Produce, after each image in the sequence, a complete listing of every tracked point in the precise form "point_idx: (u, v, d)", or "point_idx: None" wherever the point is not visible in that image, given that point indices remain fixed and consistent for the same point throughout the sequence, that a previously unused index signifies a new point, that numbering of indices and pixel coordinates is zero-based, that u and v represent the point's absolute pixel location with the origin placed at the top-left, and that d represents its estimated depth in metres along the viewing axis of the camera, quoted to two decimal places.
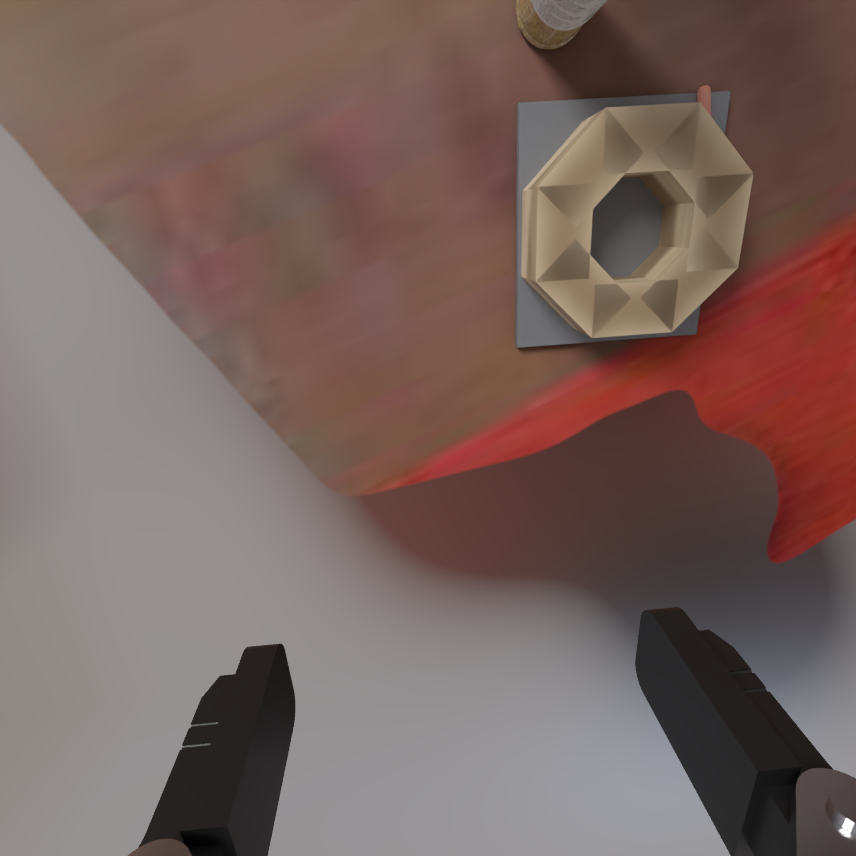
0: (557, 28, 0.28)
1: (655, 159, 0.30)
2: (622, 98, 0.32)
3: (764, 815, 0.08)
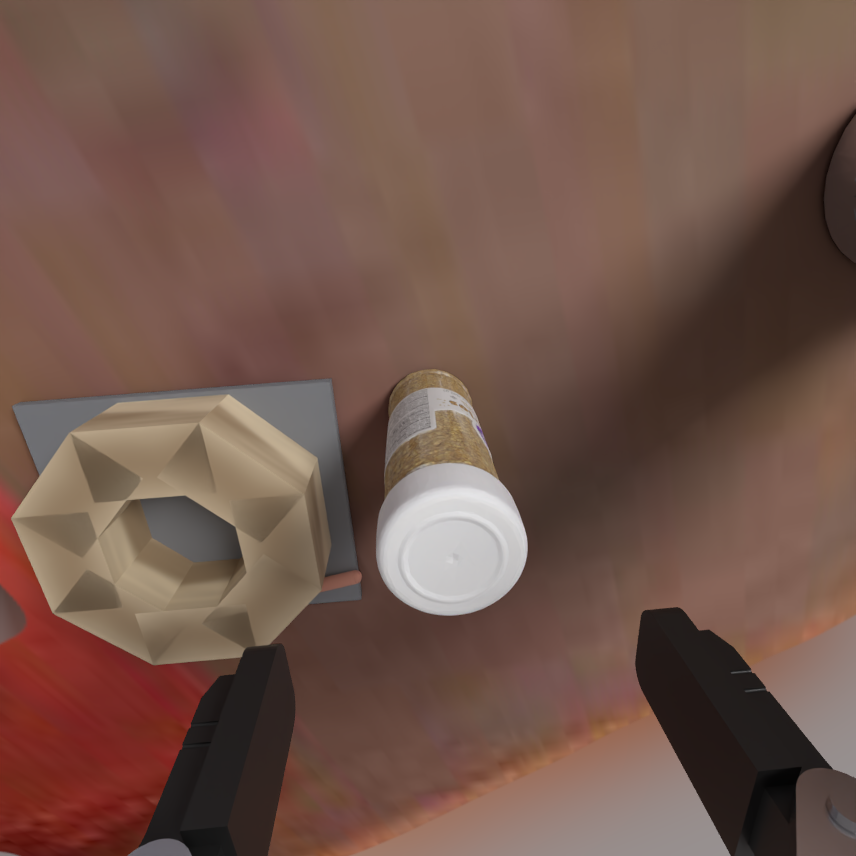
0: (388, 425, 0.23)
1: (256, 556, 0.24)
2: (344, 497, 0.28)
3: (764, 815, 0.08)
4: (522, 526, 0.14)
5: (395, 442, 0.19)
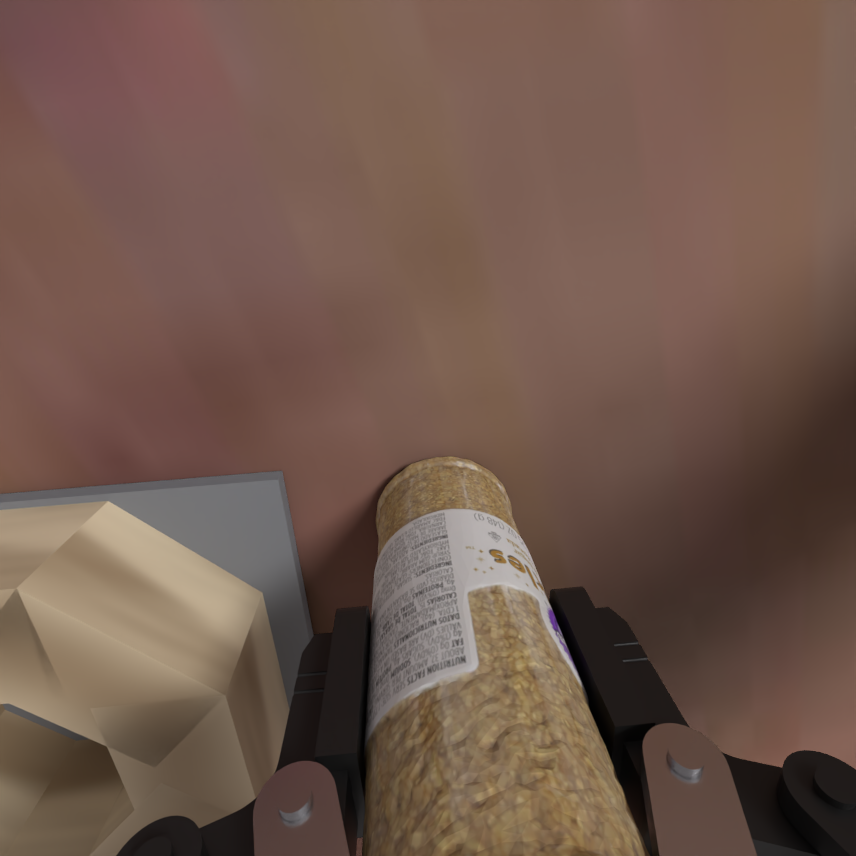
0: (374, 572, 0.13)
1: (148, 786, 0.14)
2: None
3: (624, 767, 0.08)
4: None
5: (387, 674, 0.09)
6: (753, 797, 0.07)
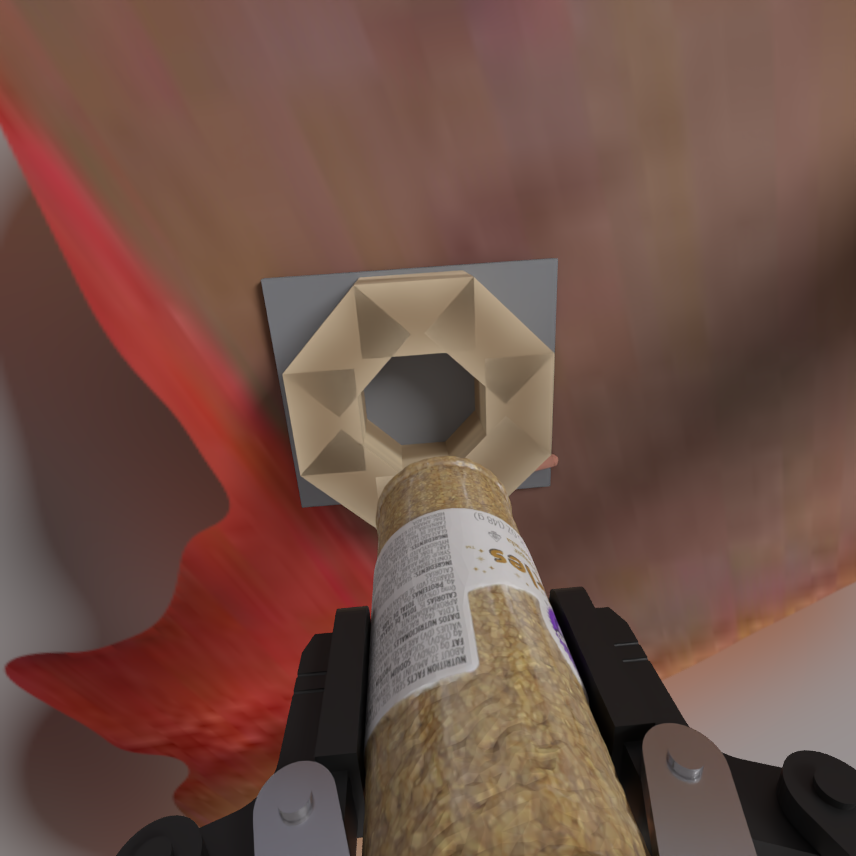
0: (374, 571, 0.13)
1: (498, 418, 0.26)
2: None
3: (624, 767, 0.08)
4: None
5: (387, 674, 0.09)
6: (753, 797, 0.07)
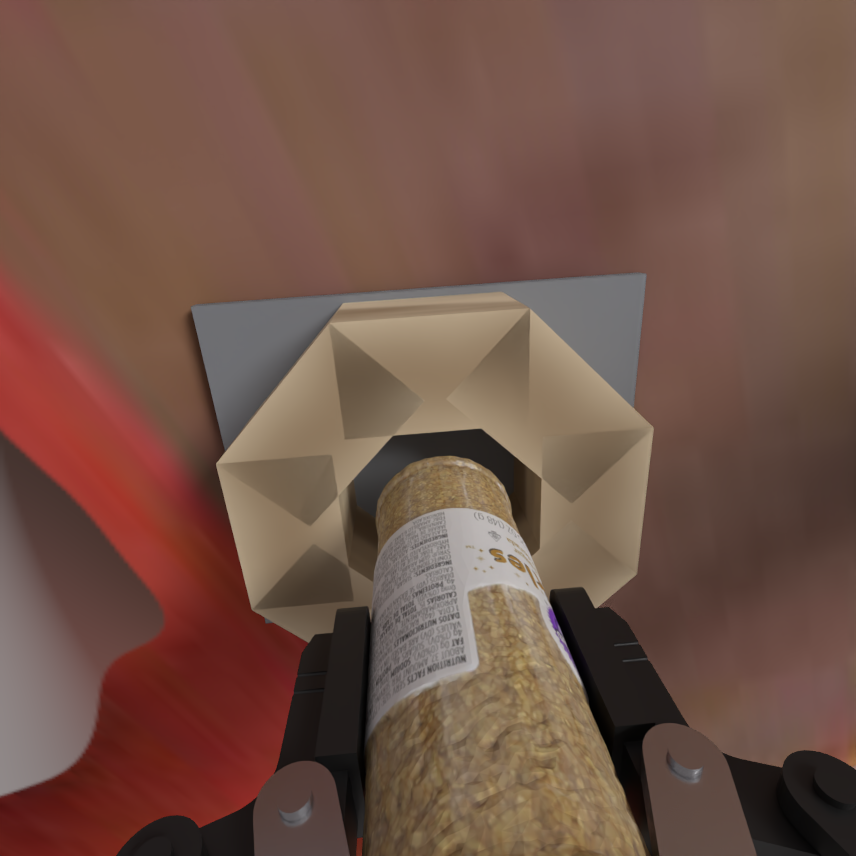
0: (374, 571, 0.13)
1: (559, 524, 0.17)
2: None
3: (624, 767, 0.08)
4: None
5: (387, 674, 0.09)
6: (753, 797, 0.07)
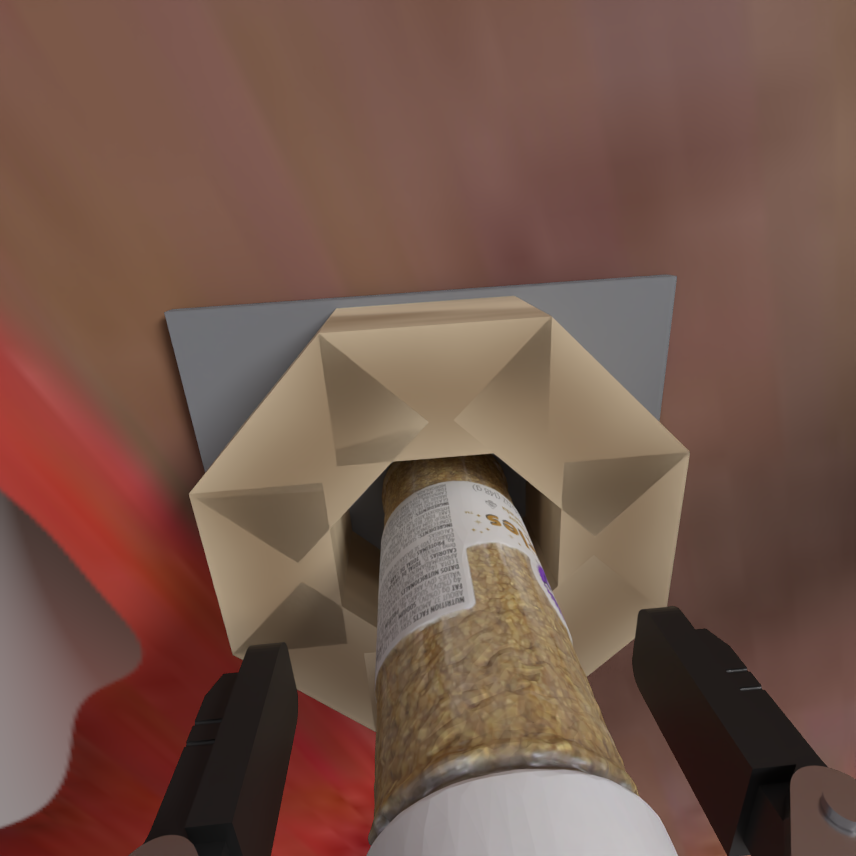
0: None
1: (580, 559, 0.15)
2: None
3: (759, 812, 0.08)
4: None
5: (395, 616, 0.10)
6: None
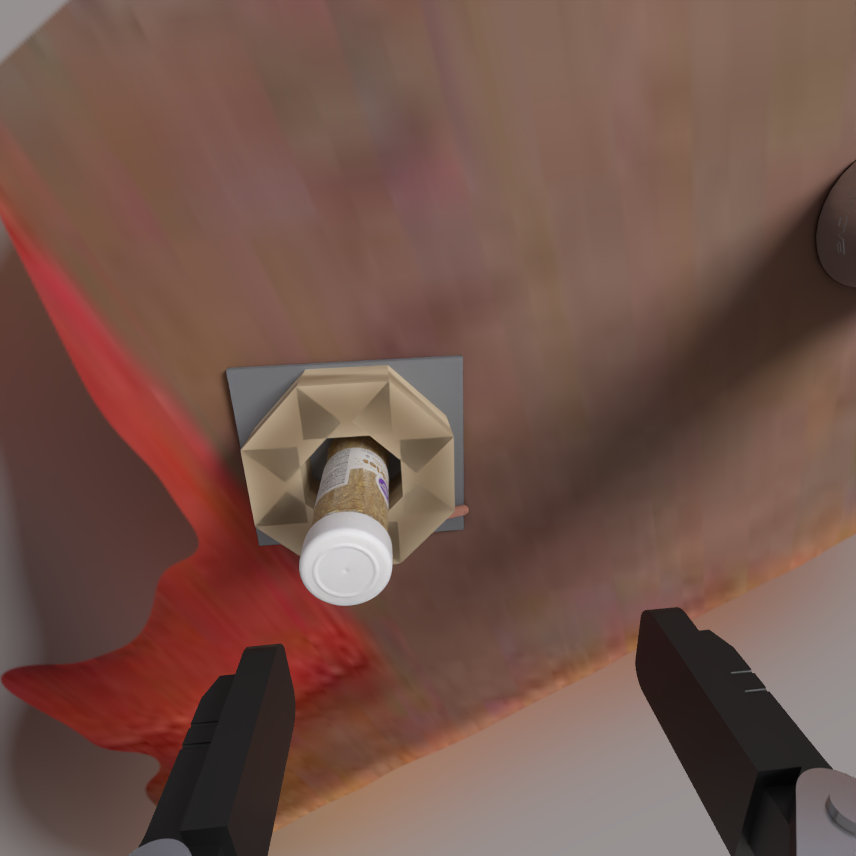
0: None
1: (411, 483, 0.33)
2: (462, 446, 0.37)
3: (764, 815, 0.08)
4: (387, 551, 0.24)
5: (321, 491, 0.29)
6: None
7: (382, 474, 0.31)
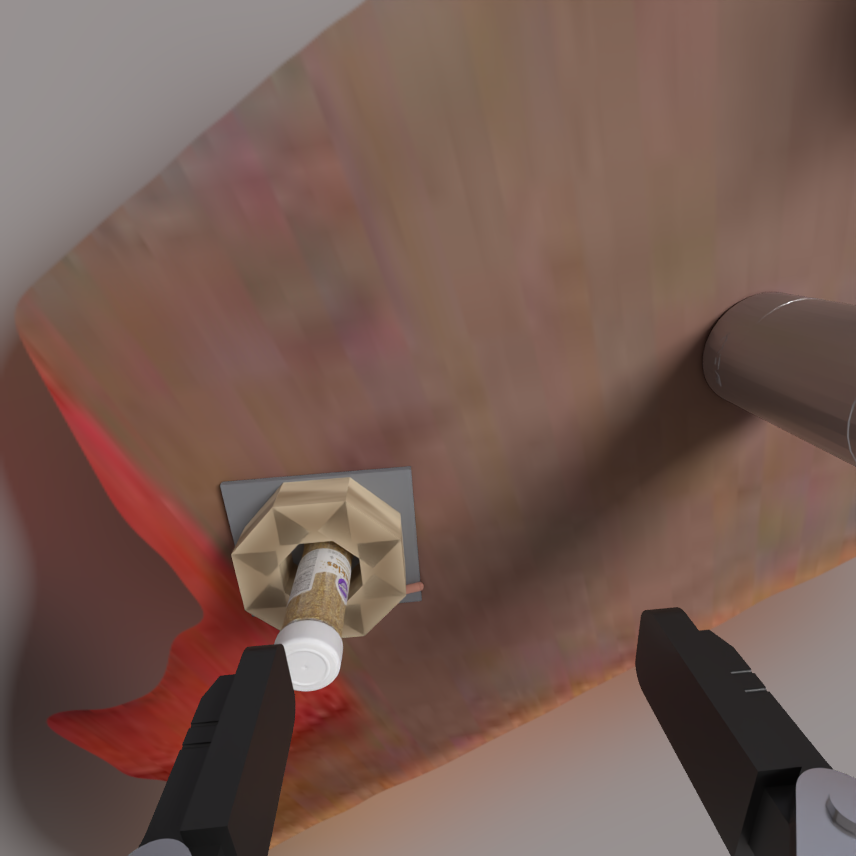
0: None
1: (369, 575, 0.41)
2: (415, 537, 0.45)
3: (764, 815, 0.08)
4: (335, 652, 0.32)
5: (292, 593, 0.37)
6: None
7: (343, 573, 0.39)
